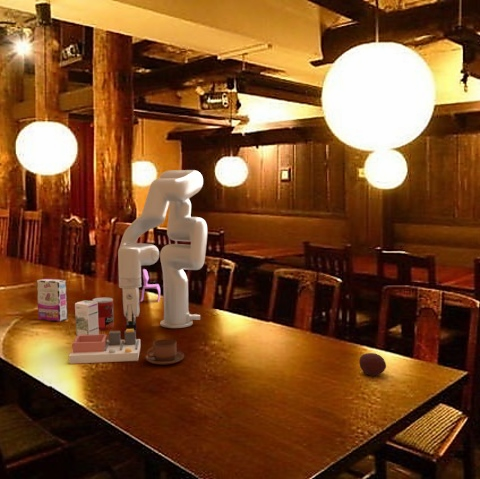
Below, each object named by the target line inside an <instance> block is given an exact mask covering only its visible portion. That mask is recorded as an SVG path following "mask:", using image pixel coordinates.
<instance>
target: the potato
mask: <svg viewBox="0 0 480 479" xmlns="http://www.w3.org/2000/svg"><path fill="white" fill-rule="evenodd" d="M358 361H359V366H360V369H361V371H362V372H363V373H365V374H366V375H369V376H377V375H378V376H379V375H381V374H383V373H384V371H385V370H386V368H387V364H386V360H385V359H384V357H382V355H381V354H380V355H379V354H378V353H373V352H368V353H363V354H362V355H361V356H360V357H359V360H358Z"/></svg>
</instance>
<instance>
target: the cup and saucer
mask: <svg viewBox="0 0 480 479" xmlns="http://www.w3.org/2000/svg"><path fill="white" fill-rule="evenodd" d="M150 351H151V352H150ZM184 357H185V353H184V352H183V351H180V350H177V341H176V340H175V339H171V338H163V339H162V338H161V339H157V340H154V341H153V342H152V347H150V348H148V350H147V351H146V355H145V360H146V361H147V362H148V363H151V364H154V365H161V366H162V365H163V366H164V365H171V364H176V363H178V362H180V361H182V360H183V359H184Z"/></svg>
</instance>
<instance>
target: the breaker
mask: <svg viewBox="0 0 480 479" xmlns="http://www.w3.org/2000/svg"><path fill="white" fill-rule="evenodd" d="M108 340H109V345H120V343H121V340H122V338H121V330H109V332H108Z"/></svg>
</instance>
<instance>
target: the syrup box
mask: <svg viewBox="0 0 480 479" xmlns="http://www.w3.org/2000/svg"><path fill="white" fill-rule="evenodd" d="M74 311H75V312H74V313H75V315H74V316H75V332H76V333H75V336H76V337H77V335H98V334H100V330H99V326H98V302H95V301H92V300H81V301H77V302H75V303H74ZM76 337H75V338H76Z"/></svg>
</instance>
